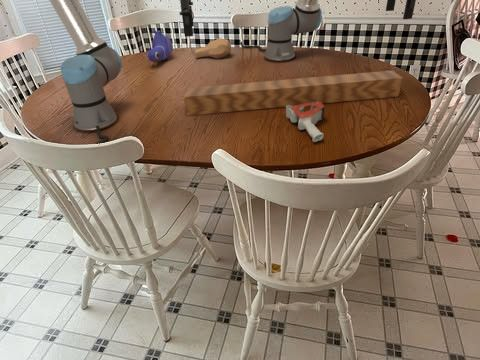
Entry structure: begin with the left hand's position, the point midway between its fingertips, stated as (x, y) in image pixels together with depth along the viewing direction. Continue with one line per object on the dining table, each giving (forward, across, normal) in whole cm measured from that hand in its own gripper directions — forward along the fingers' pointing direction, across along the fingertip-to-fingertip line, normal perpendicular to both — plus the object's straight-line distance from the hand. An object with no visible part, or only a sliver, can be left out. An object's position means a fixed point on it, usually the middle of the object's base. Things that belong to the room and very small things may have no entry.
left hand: (189, 31), depth 121 cm
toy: (+29, +64, +21) cm, 73 cm away
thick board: (+29, 0, -36) cm, 46 cm away
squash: (+29, +65, -8) cm, 72 cm away
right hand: (0, 0, -73) cm, 73 cm away
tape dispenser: (+29, -21, -37) cm, 51 cm away
